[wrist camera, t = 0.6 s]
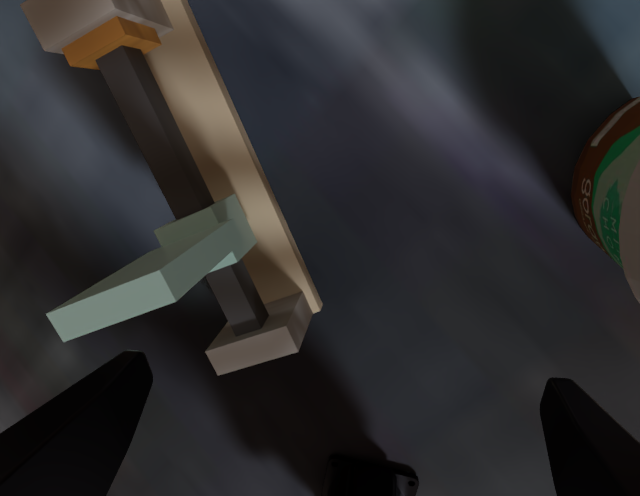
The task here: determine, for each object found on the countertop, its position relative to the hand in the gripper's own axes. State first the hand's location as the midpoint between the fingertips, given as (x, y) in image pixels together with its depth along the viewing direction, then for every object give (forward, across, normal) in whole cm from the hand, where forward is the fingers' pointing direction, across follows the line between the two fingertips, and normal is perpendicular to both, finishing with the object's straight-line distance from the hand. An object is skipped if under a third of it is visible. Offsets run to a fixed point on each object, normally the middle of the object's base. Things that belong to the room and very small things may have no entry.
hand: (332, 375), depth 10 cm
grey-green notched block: (+14, +8, +4) cm, 17 cm away
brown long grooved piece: (+17, +9, +2) cm, 19 cm away
